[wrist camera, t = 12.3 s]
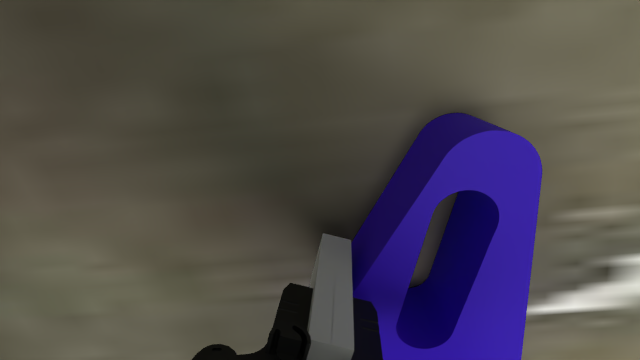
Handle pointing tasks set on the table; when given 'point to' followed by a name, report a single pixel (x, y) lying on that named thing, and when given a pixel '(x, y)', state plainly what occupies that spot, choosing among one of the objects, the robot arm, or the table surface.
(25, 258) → the table surface
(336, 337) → the robot arm
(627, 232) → the table surface
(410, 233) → the bracket
